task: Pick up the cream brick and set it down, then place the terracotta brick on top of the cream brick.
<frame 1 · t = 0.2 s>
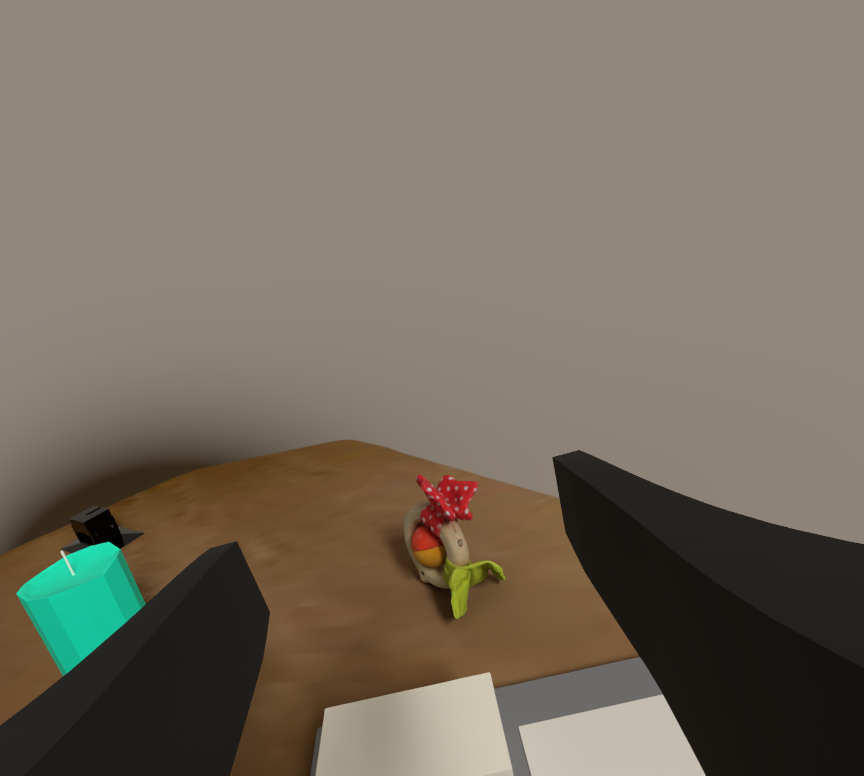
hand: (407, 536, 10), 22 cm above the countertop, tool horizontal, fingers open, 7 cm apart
bird rattle: (451, 592, 38), on the countertop
dark boxy piece: (104, 545, 57), on the countertop
candle: (128, 681, 36), on the countertop
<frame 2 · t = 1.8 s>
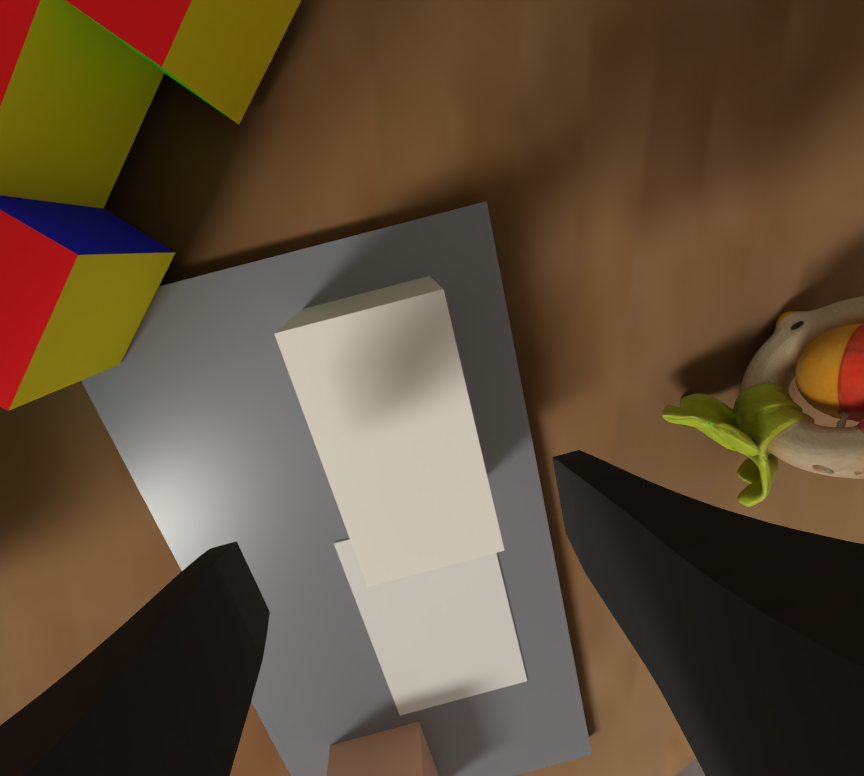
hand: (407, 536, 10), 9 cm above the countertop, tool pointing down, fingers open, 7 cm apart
terracotta brick: (388, 765, 25), point 1 cm above the countertop, touching baseplate
bird rattle: (741, 369, 20), on the countertop
cream brick: (398, 403, 18), point 1 cm above the countertop, touching baseplate
baseplate: (383, 574, 22), on the countertop
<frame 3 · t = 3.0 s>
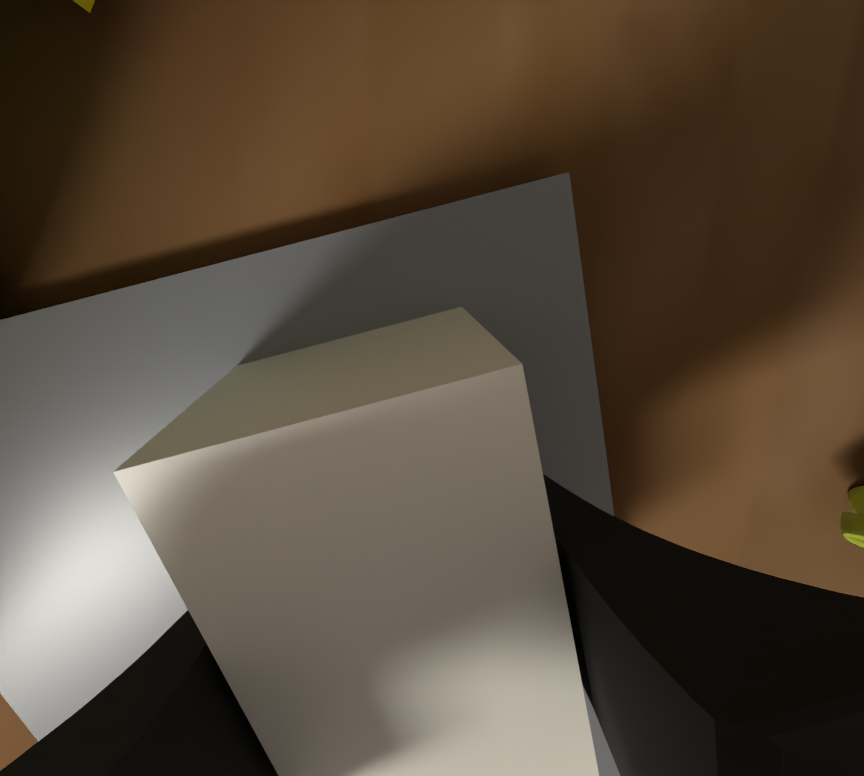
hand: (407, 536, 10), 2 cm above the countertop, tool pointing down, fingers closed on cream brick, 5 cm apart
cream brick: (405, 515, 11), point 1 cm above the countertop, touching baseplate, gripper
baseplate: (381, 747, 14), on the countertop
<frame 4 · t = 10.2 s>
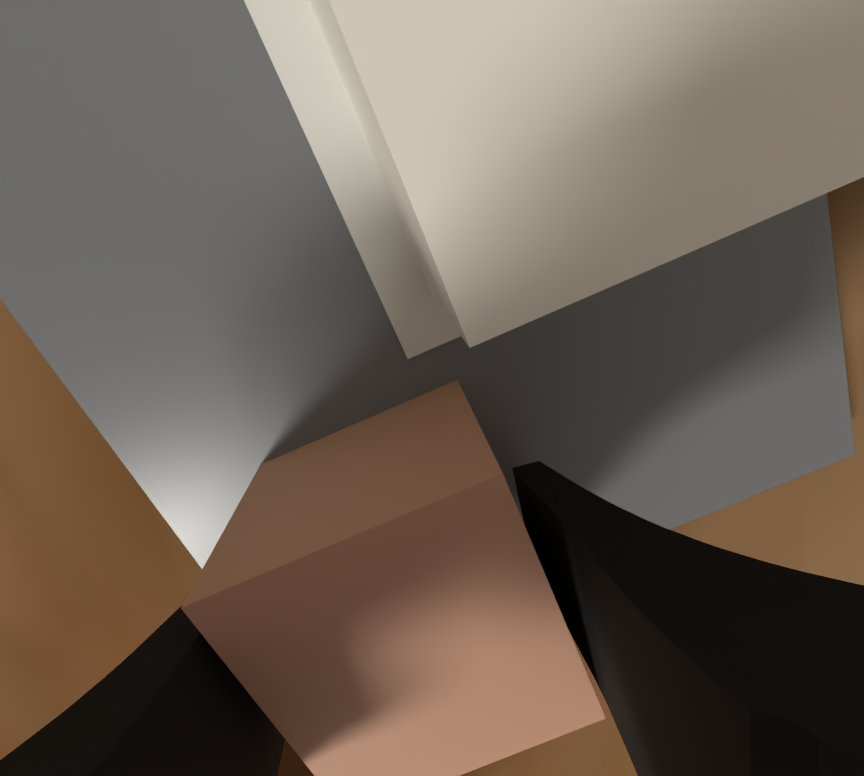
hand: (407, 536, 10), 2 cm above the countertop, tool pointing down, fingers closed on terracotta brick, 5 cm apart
terracotta brick: (405, 513, 11), point 1 cm above the countertop, touching baseplate, gripper
when the fingers open (7 cm above the countertop, at t = 14.2 s): terracotta brick stays where it is, resting on cream brick.
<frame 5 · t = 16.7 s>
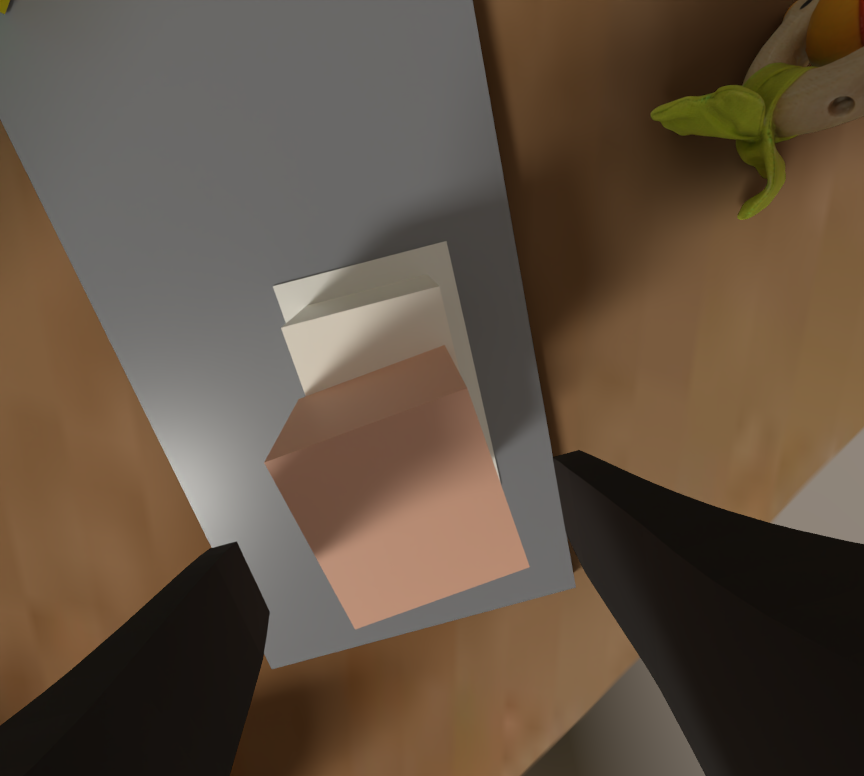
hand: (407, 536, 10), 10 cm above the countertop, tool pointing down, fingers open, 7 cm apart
terracotta brick: (401, 443, 15), point 5 cm above the countertop, touching cream brick
bird rattle: (742, 92, 18), on the countertop
cream brick: (397, 395, 19), point 1 cm above the countertop, touching baseplate, terracotta brick
baseplate: (335, 346, 19), on the countertop
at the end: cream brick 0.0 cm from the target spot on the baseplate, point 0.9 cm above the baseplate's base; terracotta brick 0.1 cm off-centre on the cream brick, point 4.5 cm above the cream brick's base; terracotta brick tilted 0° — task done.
